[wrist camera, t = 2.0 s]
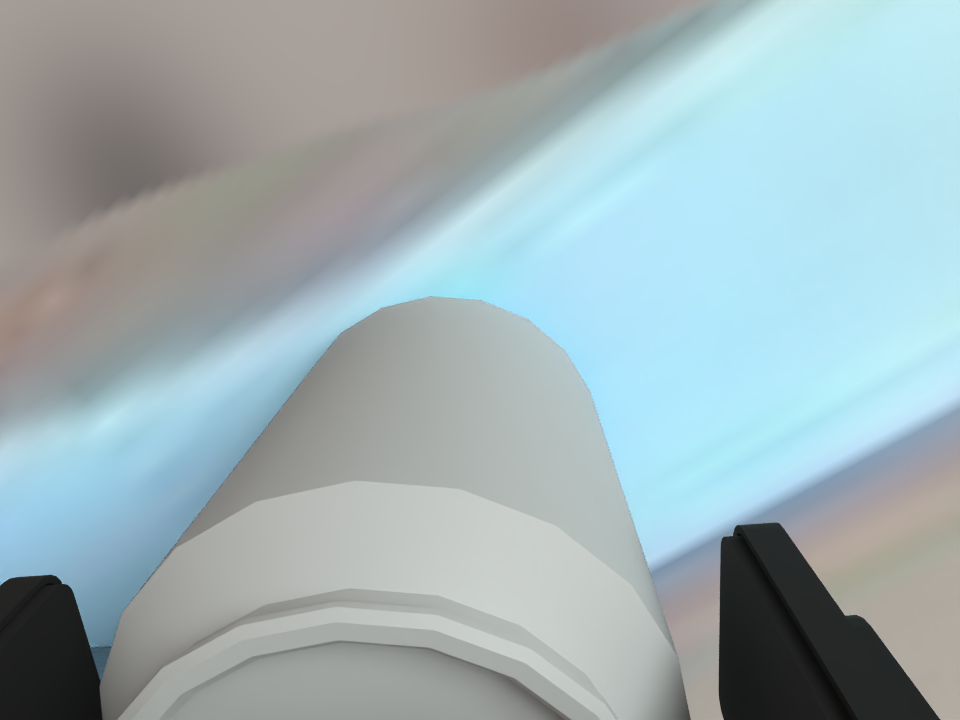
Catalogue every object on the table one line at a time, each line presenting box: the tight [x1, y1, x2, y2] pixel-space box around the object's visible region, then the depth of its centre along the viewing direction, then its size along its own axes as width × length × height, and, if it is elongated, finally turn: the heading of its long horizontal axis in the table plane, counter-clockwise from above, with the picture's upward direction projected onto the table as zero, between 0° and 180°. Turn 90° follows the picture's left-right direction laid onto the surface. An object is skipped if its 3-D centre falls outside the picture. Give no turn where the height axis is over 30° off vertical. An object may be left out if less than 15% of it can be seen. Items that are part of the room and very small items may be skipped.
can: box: [99, 296, 690, 720], centre depth 14 cm, size 8×8×12 cm
